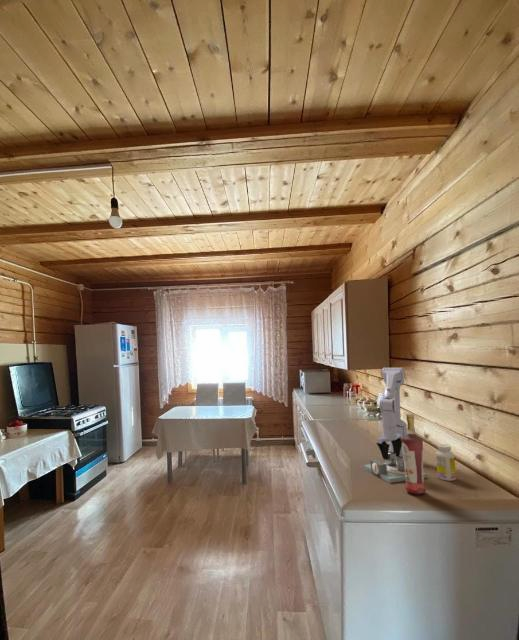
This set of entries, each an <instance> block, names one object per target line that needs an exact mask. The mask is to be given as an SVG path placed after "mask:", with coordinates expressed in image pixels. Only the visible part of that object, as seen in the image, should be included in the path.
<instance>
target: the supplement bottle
mask: <svg viewBox="0 0 519 640" xmlns="http://www.w3.org/2000/svg"><path fill="white" fill-rule="evenodd" d="M451 447H452V446H450V445H449V444H445V443H444V444H441V443H440V444H438V445H437V449H438V450H437V451H436V452H435V459H436V470H437V477H438V478H439V479H440V480H443V481H448V482H450V481H456V480H457V472H456V471H457V470H456V461H455V455H454V453H453V452H452V451H451V450H452V448H451Z"/></svg>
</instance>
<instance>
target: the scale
mask: <svg viewBox="0 0 519 640" xmlns="http://www.w3.org/2000/svg"><path fill="white" fill-rule="evenodd" d="M363 469H364V470H366V471H367V472H368V473H371V474H372V473H373V475H374V474H375V475H374V476H376V477H378V478H380V479H381V480H383V481H385V482H387V483H389V484H393V483H400V482H406V477H405V472H400V471H398V470H397V461H396V466H388V465H387V464H386V461H385V462H384V461H381V460H379V459H371V460H370V463H369V464H363ZM423 478H424V479H427V478H428V473H426V472H424V471H423Z"/></svg>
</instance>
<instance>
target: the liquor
mask: <svg viewBox="0 0 519 640" xmlns="http://www.w3.org/2000/svg"><path fill="white" fill-rule="evenodd" d="M405 416H406V422H407V423H406V425H407V436H404V437H403V438H402V439H401V441H402V451H403V459H404V467H405V477H406V481H405V487H404V488H405V490H407V493H410V494H411V495H415V496H420V495H422V494H424V493H425V492H426V491H427V490H426V488H425V483H424V482H425V478H423V472H424V448H423V446H424V445H423V439H421V437H419V436H417V435H416V434H417V433H416V430H415V429H416V428H415V427H416V426H415V415H414V414H413V413H412V414H411V413H407V414H406V415H405Z"/></svg>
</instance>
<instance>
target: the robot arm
mask: <svg viewBox="0 0 519 640" xmlns="http://www.w3.org/2000/svg"><path fill="white" fill-rule="evenodd" d="M381 374H382V379H383V382H384V384H385V385H386V386H385V387H384V389H383V390H382V397H381V398H382V399H380V400H379V410H380V416H381V424H382V425H381V428H382V434H381V436H380V437H377V438H376V446H377V447H378V448H379V451H380V453H381V456H382V459H383V460H385V461H386V460H388V451H390V452H395V453H396V461H397V457H399V456H402V457H403V451H402V441H401V439H402V438H403V437H404V436H407V423H406V421H404V420H403V419H402V418H401V396H400V395H401V394H400V393H401V387H402V386H404V385H405V371H404V368H403V367H383V368H382V372H381Z"/></svg>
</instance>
